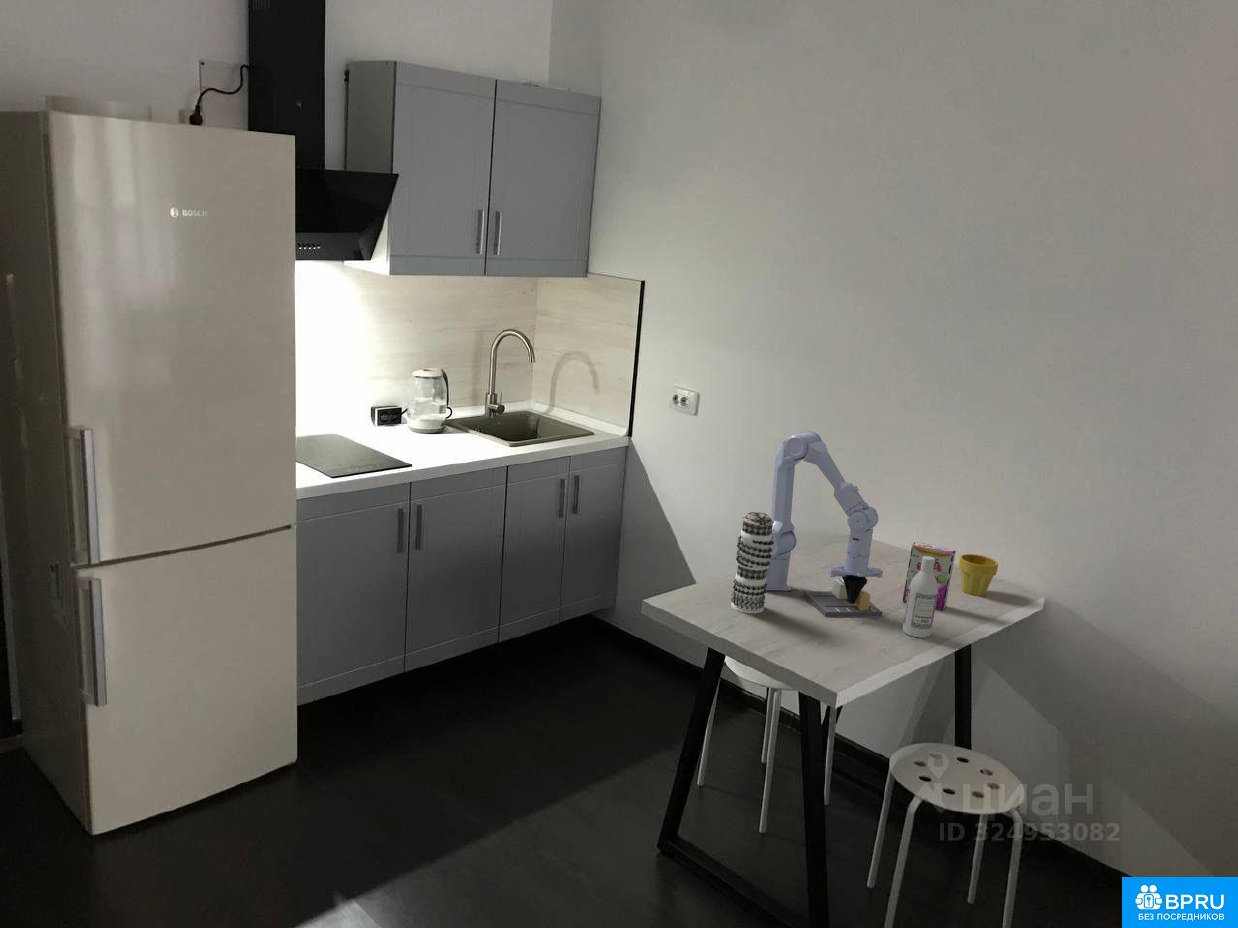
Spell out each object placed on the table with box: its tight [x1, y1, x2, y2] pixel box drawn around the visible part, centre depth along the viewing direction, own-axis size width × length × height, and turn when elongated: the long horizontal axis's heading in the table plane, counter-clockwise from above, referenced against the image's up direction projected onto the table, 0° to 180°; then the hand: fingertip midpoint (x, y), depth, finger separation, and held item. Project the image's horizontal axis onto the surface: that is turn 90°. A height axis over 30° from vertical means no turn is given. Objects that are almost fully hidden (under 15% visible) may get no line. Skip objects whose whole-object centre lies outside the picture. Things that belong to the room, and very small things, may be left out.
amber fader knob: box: [854, 588, 871, 609], centre depth 272 cm, size 2×4×4 cm, turn 12°
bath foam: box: [902, 556, 938, 639], centre depth 258 cm, size 7×7×20 cm
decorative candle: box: [730, 511, 774, 614], centre depth 265 cm, size 9×9×25 cm
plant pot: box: [958, 553, 999, 597], centre depth 295 cm, size 10×10×10 cm
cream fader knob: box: [831, 578, 847, 599], centre depth 278 cm, size 2×4×4 cm, turn 12°
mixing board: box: [802, 590, 883, 618], centre depth 275 cm, size 16×15×1 cm
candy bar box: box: [902, 541, 957, 612], centre depth 280 cm, size 11×5×16 cm, turn 65°
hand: (851, 602), depth 271 cm, fingers closed
